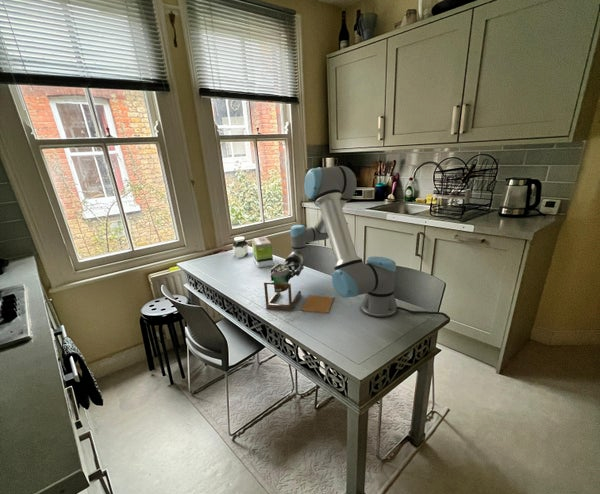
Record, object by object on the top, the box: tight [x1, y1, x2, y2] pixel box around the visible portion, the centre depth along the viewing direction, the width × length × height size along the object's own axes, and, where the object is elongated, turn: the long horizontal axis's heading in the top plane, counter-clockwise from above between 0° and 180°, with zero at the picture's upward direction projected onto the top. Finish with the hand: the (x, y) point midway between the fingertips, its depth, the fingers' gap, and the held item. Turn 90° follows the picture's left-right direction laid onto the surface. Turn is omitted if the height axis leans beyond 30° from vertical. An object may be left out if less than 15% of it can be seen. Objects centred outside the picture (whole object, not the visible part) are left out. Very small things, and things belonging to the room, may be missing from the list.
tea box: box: [251, 236, 274, 268], centre depth 197 cm, size 15×10×15 cm, turn 17°
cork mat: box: [300, 295, 334, 314], centre depth 144 cm, size 12×15×1 cm
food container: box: [272, 263, 291, 293], centre depth 144 cm, size 12×6×10 cm, turn 168°
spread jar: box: [232, 236, 250, 259], centre depth 214 cm, size 12×11×12 cm
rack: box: [263, 281, 302, 312], centre depth 145 cm, size 12×16×13 cm
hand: (279, 278), depth 139 cm, fingers closed on food container, 6 cm apart
